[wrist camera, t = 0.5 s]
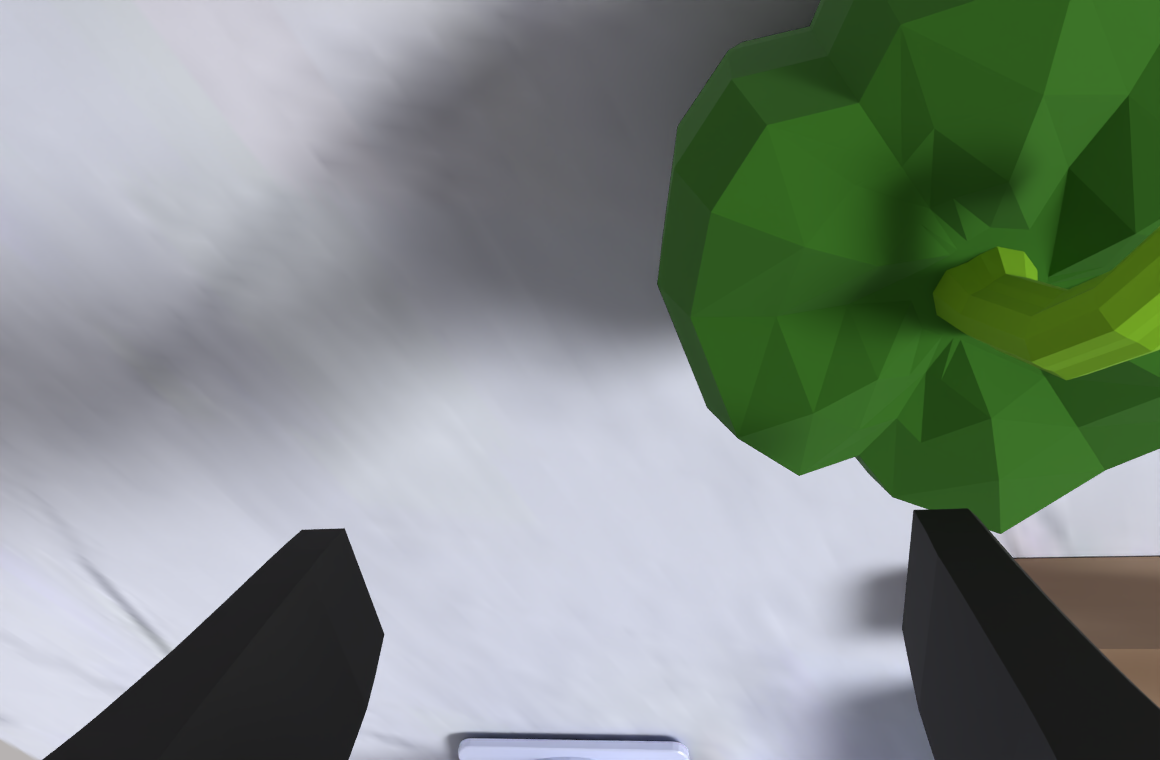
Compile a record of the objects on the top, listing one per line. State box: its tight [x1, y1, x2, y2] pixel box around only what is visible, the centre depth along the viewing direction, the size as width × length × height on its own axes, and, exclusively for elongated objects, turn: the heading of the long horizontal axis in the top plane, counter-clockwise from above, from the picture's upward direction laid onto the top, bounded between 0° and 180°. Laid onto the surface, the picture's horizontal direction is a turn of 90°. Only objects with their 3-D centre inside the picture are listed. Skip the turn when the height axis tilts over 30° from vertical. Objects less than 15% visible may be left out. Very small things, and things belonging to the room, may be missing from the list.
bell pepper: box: [657, 0, 1160, 534], centre depth 13 cm, size 8×8×10 cm
